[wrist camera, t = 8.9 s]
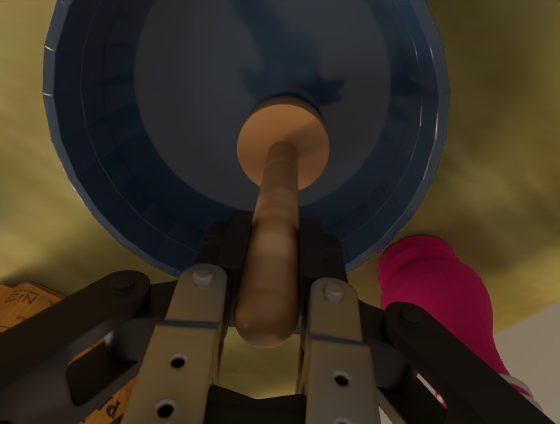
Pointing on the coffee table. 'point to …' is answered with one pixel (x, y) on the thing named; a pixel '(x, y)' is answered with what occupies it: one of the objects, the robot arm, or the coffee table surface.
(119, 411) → the pancake mix bag
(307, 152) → the wooden disc peg
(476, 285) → the pepper mill
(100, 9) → the bowl
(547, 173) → the coffee table surface
